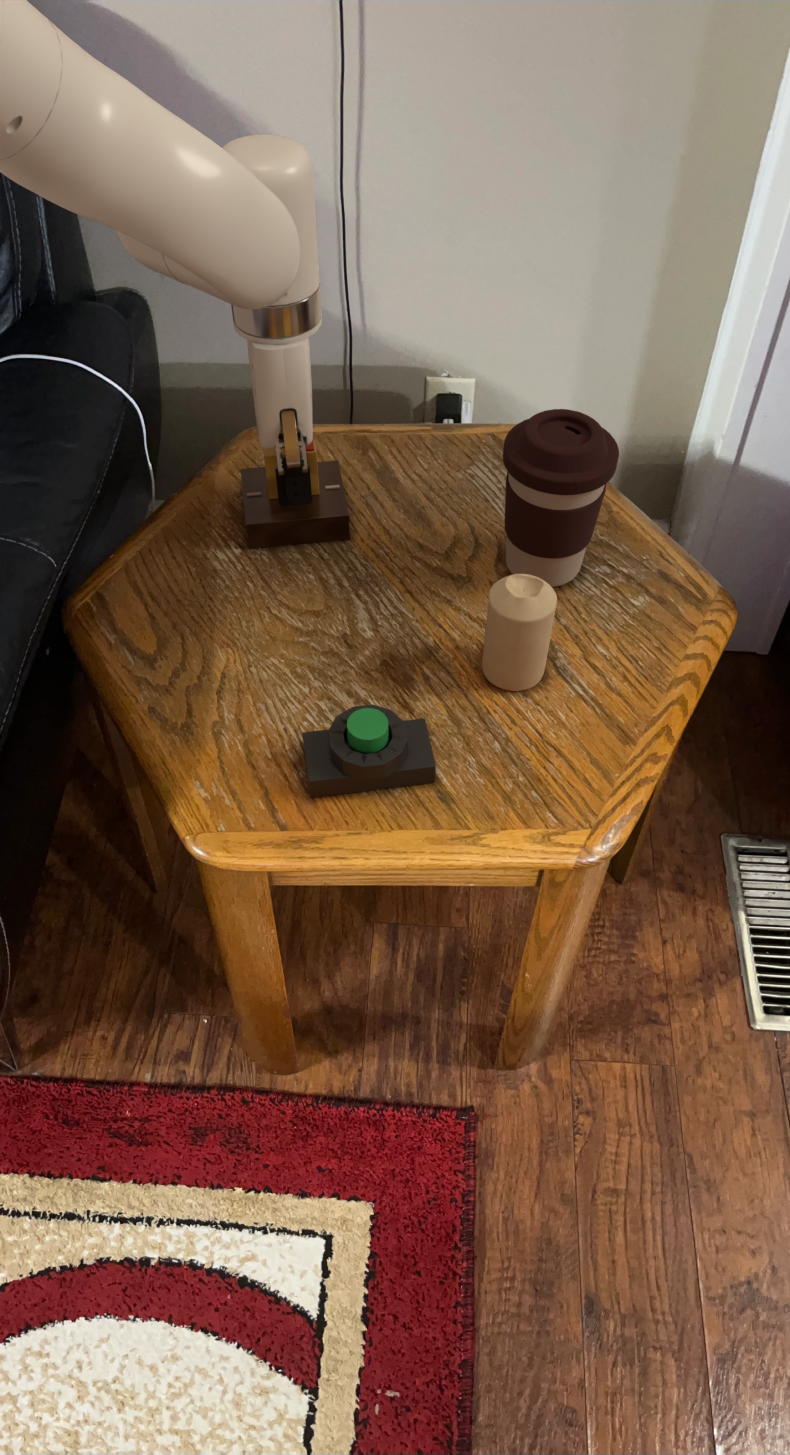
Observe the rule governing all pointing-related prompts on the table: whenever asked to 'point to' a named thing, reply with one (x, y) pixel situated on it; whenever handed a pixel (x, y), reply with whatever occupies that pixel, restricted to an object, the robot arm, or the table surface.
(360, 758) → the dark grey button housing
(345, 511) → the plate
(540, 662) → the candle
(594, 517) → the coffee cup
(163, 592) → the table surface
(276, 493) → the thumbturn
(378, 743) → the arm button
